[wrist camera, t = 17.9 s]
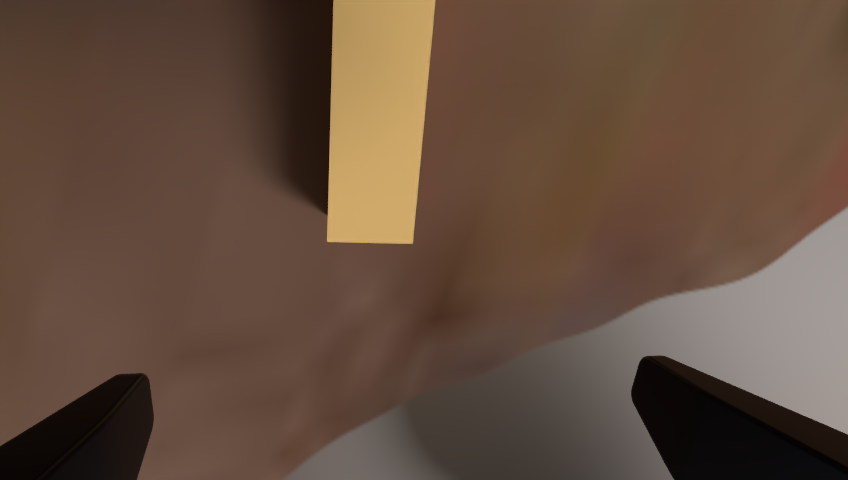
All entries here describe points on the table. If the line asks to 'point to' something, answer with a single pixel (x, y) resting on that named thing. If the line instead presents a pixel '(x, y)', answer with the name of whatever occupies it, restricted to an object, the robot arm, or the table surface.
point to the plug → (377, 117)
